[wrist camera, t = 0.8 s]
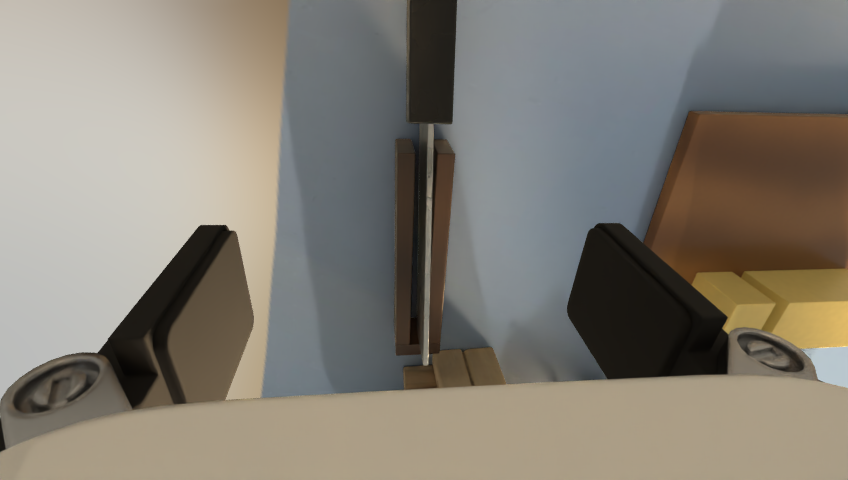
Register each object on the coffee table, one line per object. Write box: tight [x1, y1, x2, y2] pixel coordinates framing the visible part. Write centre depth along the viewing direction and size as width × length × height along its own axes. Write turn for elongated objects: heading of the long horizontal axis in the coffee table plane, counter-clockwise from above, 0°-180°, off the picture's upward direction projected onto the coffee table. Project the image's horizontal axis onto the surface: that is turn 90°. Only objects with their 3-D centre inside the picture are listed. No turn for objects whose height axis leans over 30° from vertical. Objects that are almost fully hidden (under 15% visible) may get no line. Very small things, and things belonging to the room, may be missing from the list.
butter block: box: [741, 269, 848, 349], centre depth 31 cm, size 4×9×4 cm, turn 88°
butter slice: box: [692, 272, 776, 334], centre depth 30 cm, size 4×3×4 cm, turn 178°
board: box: [643, 111, 848, 285], centre depth 31 cm, size 20×18×1 cm
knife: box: [406, 0, 457, 365], centre depth 23 cm, size 24×2×4 cm, turn 178°
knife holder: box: [394, 139, 455, 356], centre depth 27 cm, size 15×3×3 cm, turn 178°
